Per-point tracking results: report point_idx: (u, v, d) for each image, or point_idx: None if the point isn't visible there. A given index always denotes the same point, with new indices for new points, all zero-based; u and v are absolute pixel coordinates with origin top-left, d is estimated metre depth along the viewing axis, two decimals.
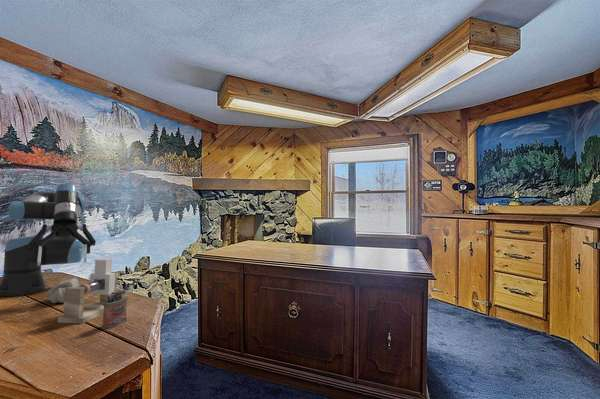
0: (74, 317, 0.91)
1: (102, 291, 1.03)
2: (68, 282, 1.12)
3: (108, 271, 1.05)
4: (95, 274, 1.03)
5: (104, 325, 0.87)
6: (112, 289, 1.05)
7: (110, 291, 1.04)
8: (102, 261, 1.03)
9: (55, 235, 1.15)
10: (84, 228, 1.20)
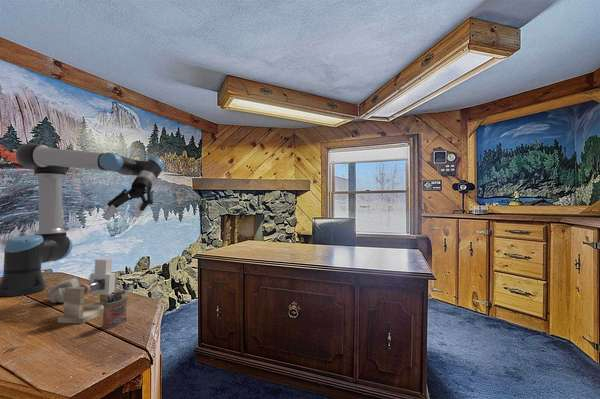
0: (74, 317, 0.91)
1: (102, 291, 1.03)
2: (68, 282, 1.12)
3: (108, 271, 1.05)
4: (95, 274, 1.03)
5: (104, 325, 0.87)
6: (112, 289, 1.05)
7: (110, 291, 1.04)
8: (102, 261, 1.03)
9: None
10: None
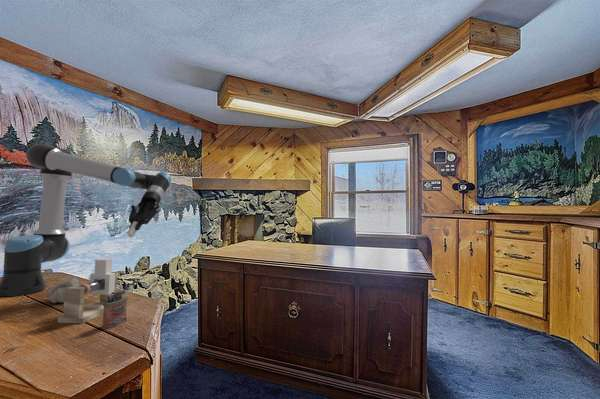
0: (74, 317, 0.91)
1: (102, 291, 1.03)
2: (68, 282, 1.12)
3: (108, 271, 1.05)
4: (95, 274, 1.03)
5: (104, 325, 0.87)
6: (112, 289, 1.05)
7: (110, 291, 1.04)
8: (102, 261, 1.03)
9: None
10: None
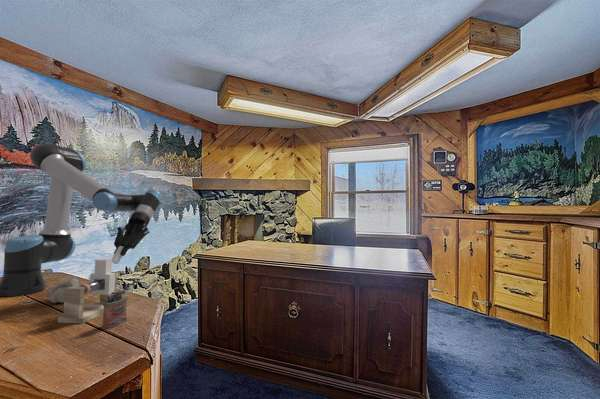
0: (74, 317, 0.91)
1: (102, 291, 1.03)
2: (68, 282, 1.12)
3: (108, 271, 1.05)
4: (95, 274, 1.03)
5: (104, 325, 0.87)
6: (112, 289, 1.05)
7: (110, 291, 1.04)
8: (102, 261, 1.03)
9: None
10: None
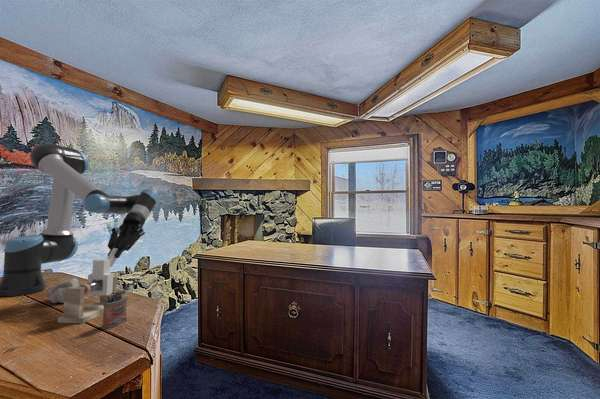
0: (74, 317, 0.91)
1: (100, 292, 1.02)
2: (68, 282, 1.12)
3: (106, 272, 1.04)
4: (93, 275, 1.02)
5: (104, 325, 0.87)
6: (110, 289, 1.04)
7: (108, 292, 1.03)
8: (100, 261, 1.02)
9: None
10: None
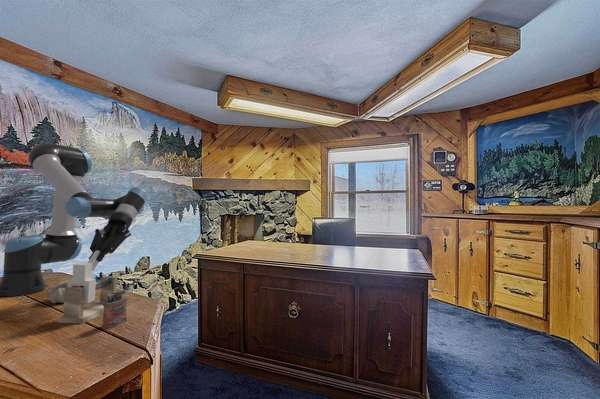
0: (74, 317, 0.91)
1: None
2: None
3: (87, 277, 0.95)
4: (73, 280, 0.94)
5: (104, 325, 0.87)
6: (92, 296, 0.95)
7: (90, 299, 0.94)
8: (81, 266, 0.94)
9: None
10: None
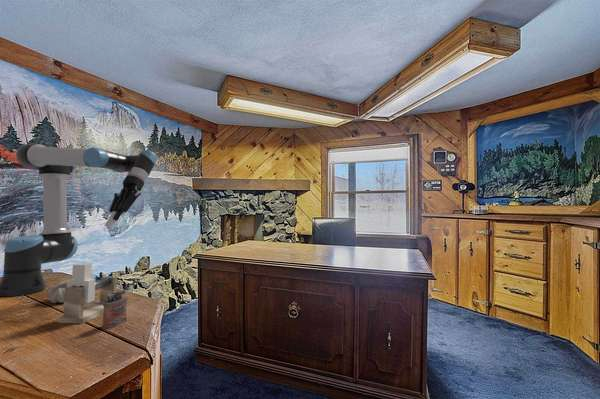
0: (74, 317, 0.91)
1: None
2: None
3: (87, 277, 0.95)
4: (73, 280, 0.94)
5: (104, 325, 0.87)
6: (92, 297, 0.95)
7: (89, 299, 0.94)
8: (80, 266, 0.94)
9: None
10: None
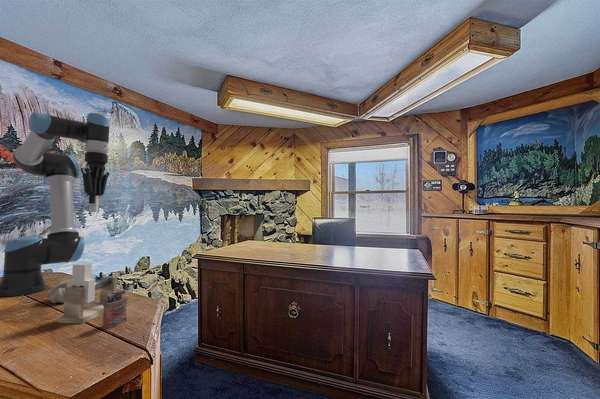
0: (74, 317, 0.91)
1: None
2: None
3: (87, 277, 0.95)
4: (73, 280, 0.94)
5: (104, 325, 0.87)
6: (92, 297, 0.95)
7: (89, 299, 0.94)
8: (80, 266, 0.94)
9: None
10: (106, 176, 1.21)
